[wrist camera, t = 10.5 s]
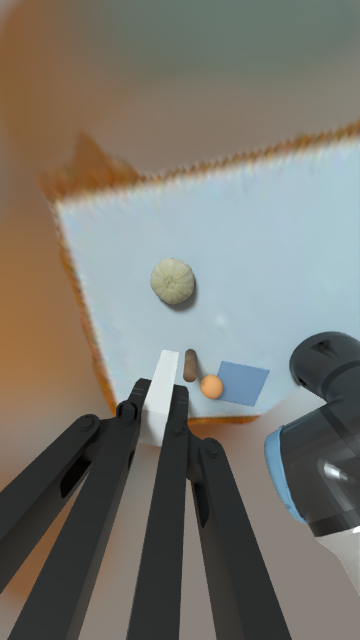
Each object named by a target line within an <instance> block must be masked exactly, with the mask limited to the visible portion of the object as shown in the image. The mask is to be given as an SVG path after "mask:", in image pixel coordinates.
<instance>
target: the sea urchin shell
mask: <svg viewBox="0 0 360 640" xmlns="http://www.w3.org/2000/svg"><path fill="white" fill-rule="evenodd" d="M150 283H151V287H152V289H153V291H154V292H155V294H156V295H157V296H158V297H159V298H160V299H161V300H163V301H165V302H166V303H169V304H178V303H181V302H183V301H185V300H186V299H187V298H189V297H190V296H191V294H192V293H193V289H194V285H195V284H194V275H193V272H192V270H191V268H190V267H189V265H188V264H186V263H184V262H183V261H180V260H176V259H173V258H172V259H164V260H162V261H160V262H159V263H158V264H157V265H156V266H155V268H154V270H153V272H152V274H151V282H150Z"/></svg>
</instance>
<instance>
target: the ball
mask: <svg viewBox="0 0 360 640" xmlns="http://www.w3.org/2000/svg"><path fill="white" fill-rule="evenodd" d="M200 388H201V391H202V393H203V395H204V396H206V397H207V398H210V399H215V398H218V397H219V396H220V395H221V394H222V392H223V383H222V381H221V380H220V378H218V377H217V376H215V375H207V376H205V377H204V378H203V379H202V381H201V384H200Z"/></svg>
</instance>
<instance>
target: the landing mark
mask: <svg viewBox="0 0 360 640" xmlns="http://www.w3.org/2000/svg"><path fill="white" fill-rule="evenodd" d="M268 373H269V370H265V369H260V368H255V367H250V366H245V365H239V364H234V363H229V362H224V361H222V362H221V365H220V368H219V372H218V375H217V377H218V378H220V380H221V381H222V383H223V392H222V394H221V395H220V396H219V397H218V398H215V399H219V400H224V401H229V402H234V403H239V404H244V405H249V406H254V405H255V403H256V401H257V398H258V396H259V394H260V391H261V389H262V387H263V384H264V382H265V380H266V378H267V375H268Z"/></svg>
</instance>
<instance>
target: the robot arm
mask: <svg viewBox="0 0 360 640" xmlns="http://www.w3.org/2000/svg"><path fill="white" fill-rule="evenodd" d="M178 356H179V353H178V352H173V351H168V350H163V351H162V354H161V356H160V359H159V362H158V365H157V368H156V371H155V373H154V376H153V379H152V380H148V379H143V378H140V379H139V380H138V381H137V382H136V383H135V385H134V387H133V389H132V391H131V394H130V396H129V398H128V400H126V401H123V402H121V403H119V405H118V406H117V409H116V417H114V418H111V419H103V420H99V418H98V417H97V416H96V415H93V414H87V415H84V416H81V417H80V418H78V419H77V420H76V421H75V422H74V423H73V424H72V425H71V426H70V427H68V428H67V429H66V430H65V431H64V432H63V433H62V434H61V435H60V436H59V437H58V438H57V439H56V440H55V441H54V442H53V443H52V444H51V445H49V446H48V447H47V448H46V450H44V451H43V452H42V453H41V454H40V455H39V456H38V457H37V458H36V459H35V460H34V461H33V462H32V463H31V464H30V465H28V467H26V468H25V469H24V470H23V471H22V472H21V473H20V474H19V475H18V476H17V477H16V478H15V479H14V480H13V481H12V482H11V483H10V484H9V485H7V486H6V487H5V488H4V489H3V490H2V491H1V492H0V594H1V593H2V591H3V590H4V588H5V587H6V586H7V584H8V583H9V581H10V580H11V579H12V577H13V576H14V575H15V573H16V572H17V570H18V569H19V568H20V566H21V565H22V564H23V562H24V561H25V559H26V558H27V557H28V555H29V554H30V553H31V551H32V550H33V548H34V547H35V546H36V544H37V543H38V542H39V540H40V539H41V537H42V536H43V535H44V533H45V532H46V531H47V529H48V528H49V526H50V525H51V524H52V522H53V521H54V519H55V518H56V517H57V515H58V514H59V512H60V511H61V510H62V509H63V507H64V506H65V504H66V503H67V501H68V500H69V499H70V497H71V496H72V495H73V493H74V492H75V491H76V489H77V488H78V487H79V485H80V483H81V482H82V481H83V480H84V478H85V477H86V476H87V474H88V473H89V474H88V476H87V478H86V480H85V482H84V484H83V486H82V488H81V490H80V492H79V495H78V497H77V499H76V501H75V503H74V505H73V507H72V509H71V511H70V513H69V515H68V517H67V519H66V521H65V523H64V525H63V527H62V529H61V531H60V533H59V535H58V537H57V539H56V541H55V543H54V546H53V548H52V550H51V552H50V554H49V556H48V558H47V560H46V562H45V564H44V566H43V568H42V570H41V572H40V574H39V576H38V578H37V580H36V582H35V584H34V586H33V588H32V591H31V592H30V595H29V597H28V599H27V601H26V603H25V605H24V607H23V609H22V611H21V613H20V615H19V617H18V619H17V621H16V623H15V625H14V627H13V629H12V631H11V634H10V635H9V637H8V639H7V640H78V638H79V634H80V631H81V628H82V625H83V621H84V618H85V615H86V611H87V608H88V605H89V602H90V598H91V595H92V591H93V588H94V585H95V582H96V579H97V575H98V572H99V569H100V566H101V562H102V559H103V556H104V553H105V549H106V546H107V543H108V540H109V536H110V533H111V530H112V526H113V523H114V519H115V517H116V513H117V510H118V506H119V504H120V500H121V497H122V494H123V490H124V487H125V484H126V480H127V477H128V474H129V471H130V468H131V464H132V461H133V458H134V454H135V449H136V445H137V441H138V442H140V443H145V444H150V445H155V446H159V447H161V452H160V457H159V461H158V467H157V474H156V479H155V484H154V489H153V495H152V500H151V506H150V511H149V516H148V522H147V527H146V534H145V538H144V544H143V549H142V555H141V560H140V566H139V571H138V577H137V582H136V587H135V594H134V598H133V604H132V610H131V615H130V621H129V626H128V631H127V637H126V640H179V625H180V601H181V579H182V558H183V536H184V535H183V534H184V513H185V491H186V489H185V488H186V478H187V479H188V480H190V481H191V487H192V493H193V499H194V505H195V511H196V517H197V523H198V529H199V535H200V541H201V547H202V553H203V559H204V565H205V572H206V578H207V584H208V589H209V596H210V601H211V607H212V614H213V620H214V626H215V632H216V638H217V640H292V639H291V636H290V633H289V631H288V628H287V625H286V622H285V620H284V616H283V614H282V611H281V608H280V606H279V602H278V600H277V597H276V594H275V592H274V588H273V586H272V583H271V580H270V577H269V574H268V572H267V569H266V566H265V563H264V561H263V558H262V555H261V552H260V550H259V546H258V544H257V541H256V538H255V535H254V532H253V530H252V527H251V524H250V522H249V519H248V516H247V513H246V510H245V507H244V505H243V502H242V499H241V496H240V493H239V491H238V488H237V485H236V482H235V479H234V477H233V474H232V471H231V468H230V465H229V463H228V460H227V457H226V454H225V451H224V449H223V447H222V445H221V444H220V443H219V442H218V441H217V440H215V439H213V438H205V439H204V440H202V439H200V438H198V437H196V436H195V435H193V434H192V433H191V431H190V430H189V428H188V425H187V418H188V398H189V392H188V389H187V387H185V386H180V385H175V384H174V379H175V373H176V367H177V362H178ZM290 371H291V373H292V375H293V376H294V378H295V379H296V380H297V381H298V383H299V384H300V385H302V386H303V387H304V388H306V389H307V390H309V391H311V392H312V393H314V394H316V395H317V396H319V397H321V398H323V399H324V400H325V401H326V402H327V404H326V405H324V406H322V407H320V408H318V409H316V410H314V411H312V412H310V413H308V414H306V415H304V416H302V417H300V418H299V419H297V420H295V421H293V422H291V423H289V424H287V425H285V426H284V425H283V426H281V427H279V429H278V430H276V431H275V432H273V433H272V434H270V435H268V437H267V438H266V440H265V444H264V447H265V448H264V452H265V459H266V463H267V467H268V470H269V473H270V476H271V479H272V481H273V484H274V486H275V489H276V491H277V493H278V495H279V497H280V499H281V500H282V502H283V503H285V506H286V508H287V510H288V511H289V513H290V514H291V515H292V516H293V517H294V518H295V519H296V520H297V521H299V522H303V523H308V525H309V526H310V529H311V530H312V532H313V534H314V536H315V538H316V540H317V541H318V542H319V543H321V544H322V545H323V546H325V547H326V548H328V549H329V550H330V551H331V552H333V553H334V554H335V555H336V556H337V557H338V558H339V559H340V561H341V563H342V565H343V567H344V569H345V571H346V572H347V574H348V576H349V578H350V580H351V581H352V583H353V585H354V587H355V589H356V590H357V592H358V594H359V596H360V342H359V341H358V340H356V339H354V338H353V337H351V336H349V335H347V334H344V333H340V332H324V333H319V334H316V335H314V336H311V337H309V338H308V339H306V340H305V341H303V342H302V343H301V344H300V345H299V346H298V347H297V348H296V349H295V350H294V352H293V354H292V356H291V359H290ZM89 471H90V472H89Z"/></svg>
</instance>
